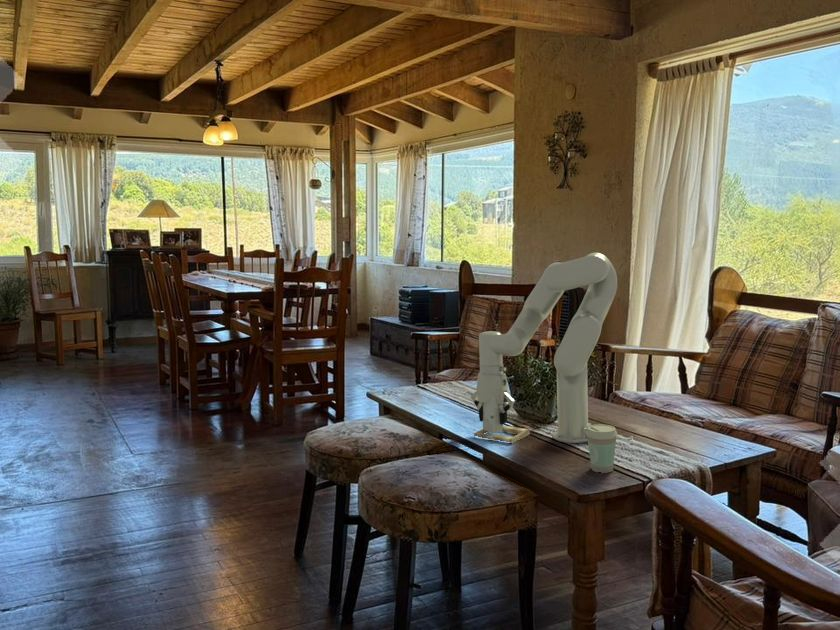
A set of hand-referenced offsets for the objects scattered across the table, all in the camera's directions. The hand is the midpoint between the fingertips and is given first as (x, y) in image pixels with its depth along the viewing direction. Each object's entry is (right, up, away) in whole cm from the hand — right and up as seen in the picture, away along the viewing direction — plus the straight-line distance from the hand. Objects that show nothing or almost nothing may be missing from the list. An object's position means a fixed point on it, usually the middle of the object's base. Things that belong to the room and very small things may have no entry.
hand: (493, 421), depth 238 cm
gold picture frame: (+3, -5, -1) cm, 6 cm away
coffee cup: (+27, -8, -36) cm, 46 cm away
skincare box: (0, -3, 0) cm, 3 cm away
